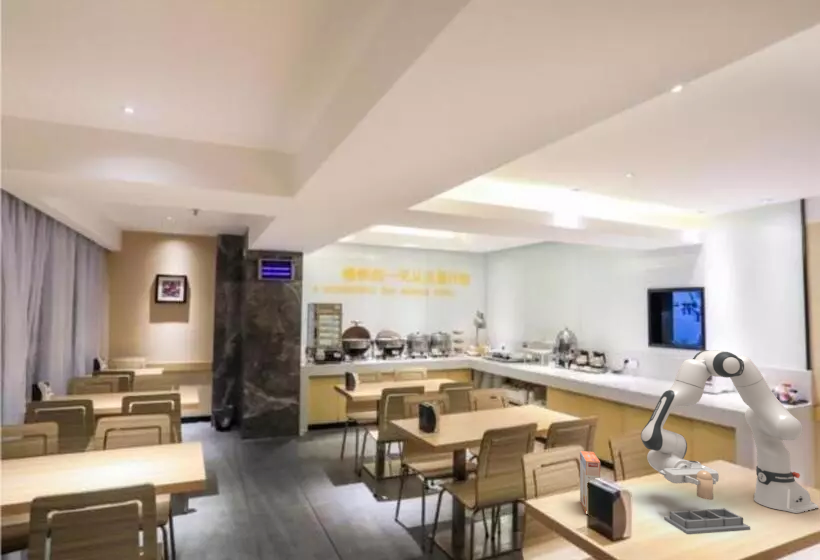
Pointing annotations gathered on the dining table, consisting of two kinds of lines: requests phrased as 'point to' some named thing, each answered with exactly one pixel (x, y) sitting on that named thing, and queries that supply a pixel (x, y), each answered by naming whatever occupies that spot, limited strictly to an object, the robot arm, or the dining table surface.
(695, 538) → the dining table surface
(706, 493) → the tan domed cylinder
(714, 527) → the grey compartment tray
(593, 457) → the cracker box
